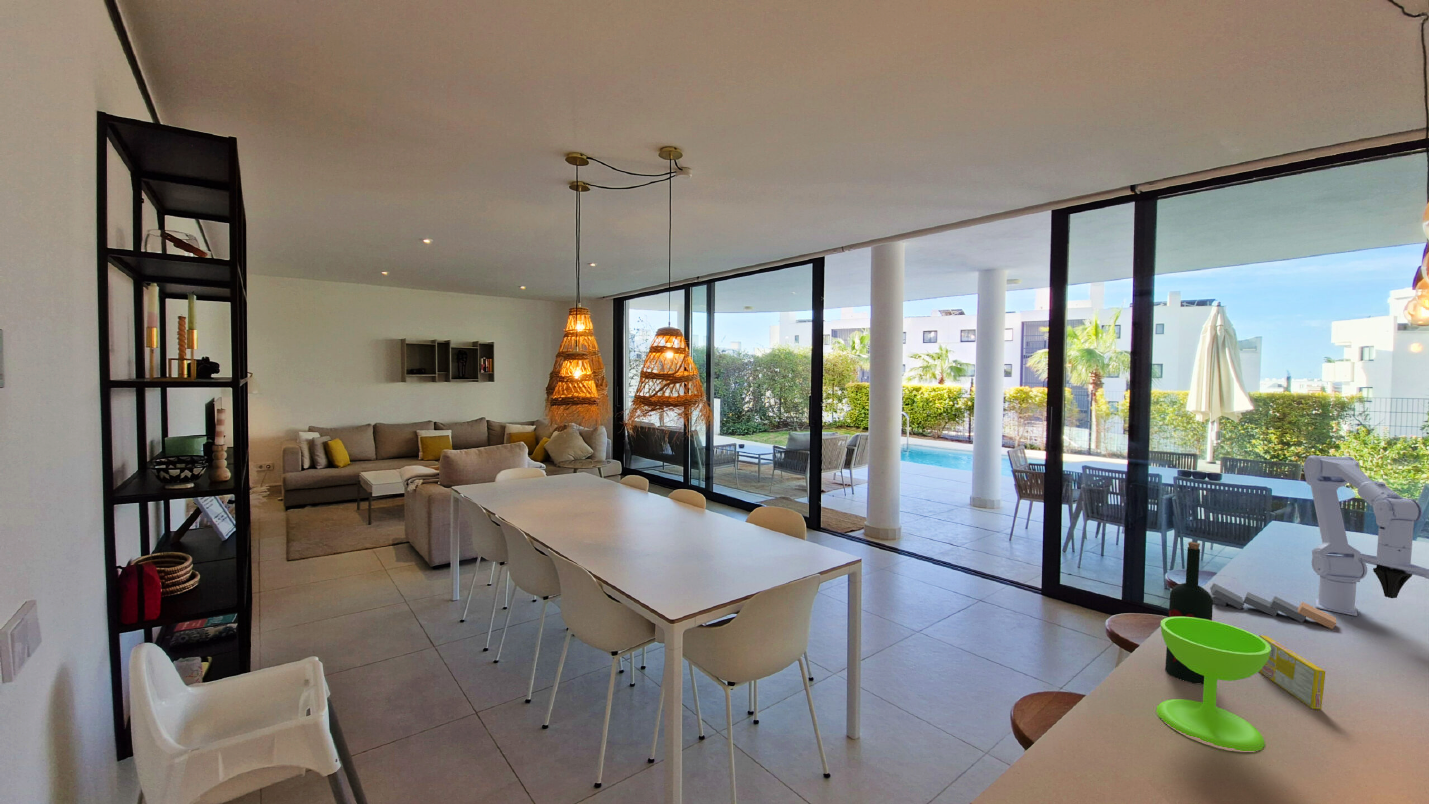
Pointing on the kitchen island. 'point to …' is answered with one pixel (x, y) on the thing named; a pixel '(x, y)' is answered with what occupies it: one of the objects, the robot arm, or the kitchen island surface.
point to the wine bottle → (1188, 610)
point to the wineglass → (1213, 678)
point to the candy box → (1294, 674)
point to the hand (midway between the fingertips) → (1390, 596)
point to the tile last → (1217, 600)
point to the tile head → (1317, 615)
